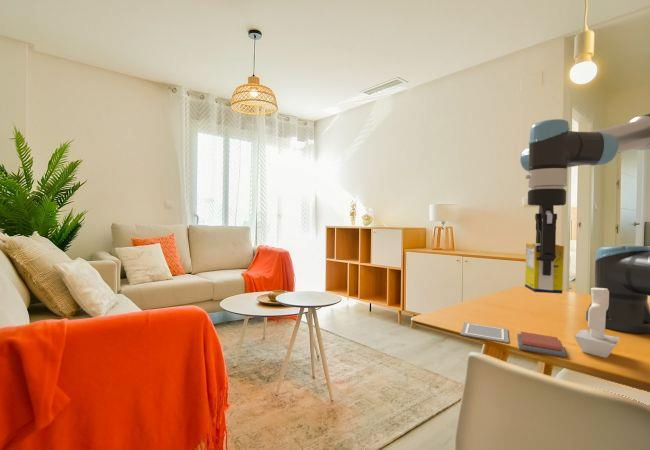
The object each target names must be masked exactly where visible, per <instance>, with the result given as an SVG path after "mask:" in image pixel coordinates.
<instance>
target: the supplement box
mask: <svg viewBox="0 0 650 450" xmlns="http://www.w3.org/2000/svg"><path fill="white" fill-rule="evenodd" d="M564 250H565V245H564V246H563V245H559V244H556V247H555V256H556V258H555V259H554V271H553V290H544V289H538V280H539V260H537V257H540V244H537V243H536V242H534V243H533V242H532V243H531V242H530V243H529V242H527V243H526V244H525V273H524V274H525V277H524V279H525V280H524V287H525V288H527V289H528V290H530V291H532V292H533V293H542V294H543V293H547V294H563V282H564V281H563V280H564V255H565V254H564V252H565V251H564Z"/></svg>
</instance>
